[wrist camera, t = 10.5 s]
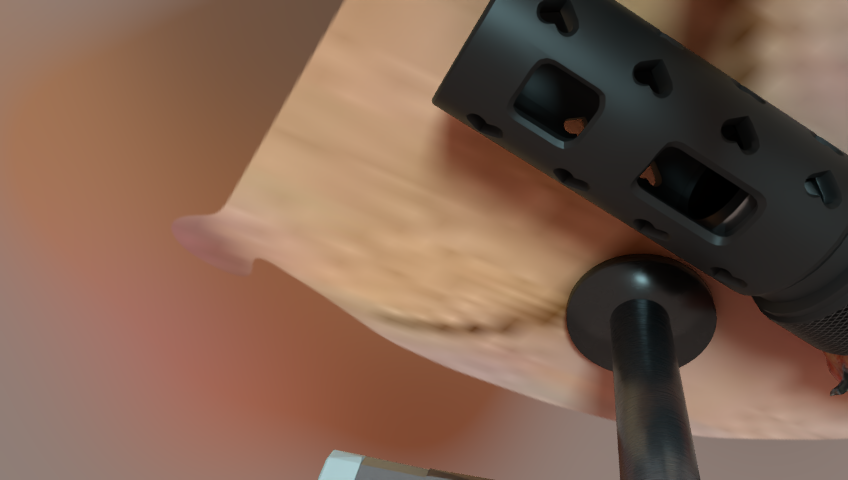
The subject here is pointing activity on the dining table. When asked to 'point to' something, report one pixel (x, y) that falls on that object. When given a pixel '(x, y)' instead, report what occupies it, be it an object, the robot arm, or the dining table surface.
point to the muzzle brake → (666, 150)
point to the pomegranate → (838, 372)
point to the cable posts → (645, 354)
